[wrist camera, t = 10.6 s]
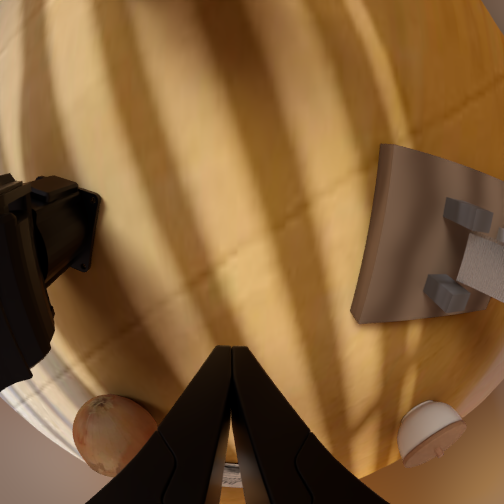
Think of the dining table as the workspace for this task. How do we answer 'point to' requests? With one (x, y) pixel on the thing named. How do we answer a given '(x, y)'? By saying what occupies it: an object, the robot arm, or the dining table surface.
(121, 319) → the dining table surface
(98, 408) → the onion
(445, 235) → the lever base
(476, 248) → the lever
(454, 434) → the lidded jar
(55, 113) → the dining table surface
